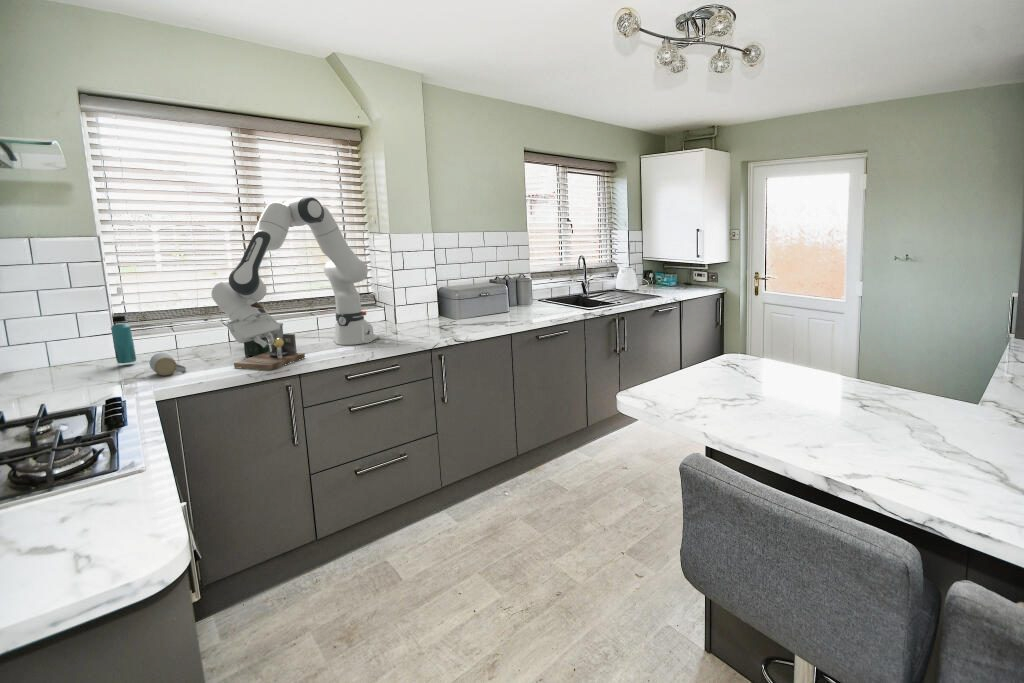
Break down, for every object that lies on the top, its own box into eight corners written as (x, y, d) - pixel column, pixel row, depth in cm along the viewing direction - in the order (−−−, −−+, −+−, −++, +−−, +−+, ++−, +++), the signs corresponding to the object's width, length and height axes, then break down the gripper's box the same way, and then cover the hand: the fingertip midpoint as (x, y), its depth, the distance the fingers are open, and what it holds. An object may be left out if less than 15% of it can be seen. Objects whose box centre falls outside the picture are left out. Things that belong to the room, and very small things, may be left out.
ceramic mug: (156, 378, 192) (153, 357, 190) (150, 374, 198) (148, 354, 196) (189, 373, 199) (186, 353, 198) (183, 369, 205) (180, 349, 203)
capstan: (269, 354, 217) (265, 323, 215) (287, 352, 220) (284, 322, 218) (270, 364, 200) (267, 331, 197) (290, 362, 203) (287, 329, 200)
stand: (270, 355, 224) (267, 332, 222) (305, 357, 219) (303, 334, 217) (234, 367, 205) (231, 342, 203) (271, 370, 200) (268, 344, 198)
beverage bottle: (141, 363, 214) (133, 314, 210) (124, 367, 208) (116, 317, 204) (129, 362, 216) (121, 314, 212) (113, 366, 210) (104, 316, 206)
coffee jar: (273, 353, 228) (268, 310, 224) (260, 357, 221) (255, 313, 217) (254, 352, 231) (249, 310, 227) (241, 356, 223) (235, 313, 219)
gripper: (228, 317, 190) (254, 345, 189) (268, 308, 209) (292, 334, 208) (219, 328, 192) (245, 356, 191) (260, 319, 211) (283, 344, 210)
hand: (269, 344), depth 200 cm, fingers open, 3 cm apart
